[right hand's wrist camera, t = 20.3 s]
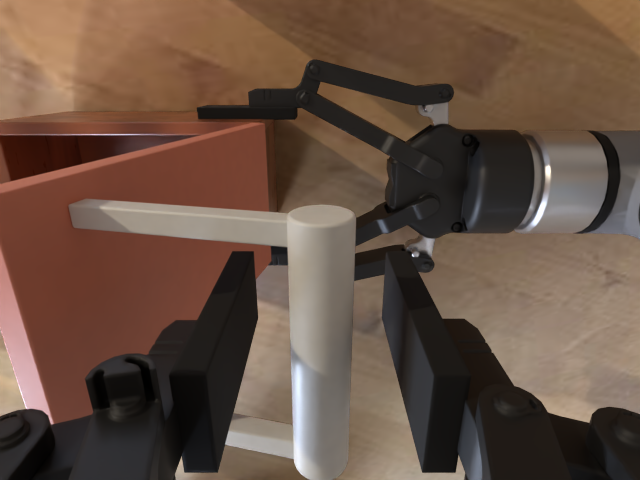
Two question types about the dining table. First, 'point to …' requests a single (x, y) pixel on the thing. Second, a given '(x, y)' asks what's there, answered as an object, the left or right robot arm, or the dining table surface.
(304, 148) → the dining table surface
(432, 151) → the left robot arm
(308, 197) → the dining table surface
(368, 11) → the dining table surface
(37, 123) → the chest
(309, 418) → the lid
